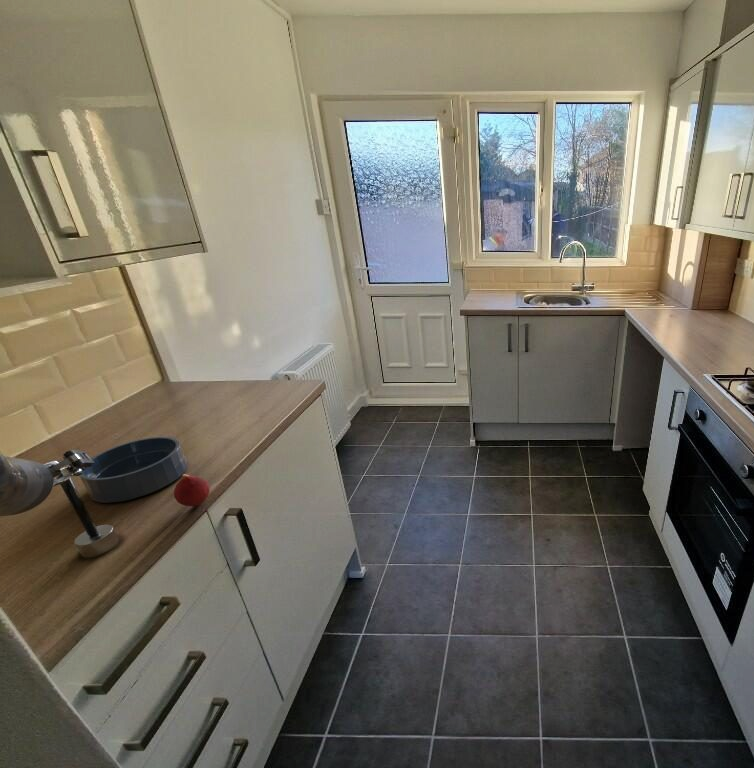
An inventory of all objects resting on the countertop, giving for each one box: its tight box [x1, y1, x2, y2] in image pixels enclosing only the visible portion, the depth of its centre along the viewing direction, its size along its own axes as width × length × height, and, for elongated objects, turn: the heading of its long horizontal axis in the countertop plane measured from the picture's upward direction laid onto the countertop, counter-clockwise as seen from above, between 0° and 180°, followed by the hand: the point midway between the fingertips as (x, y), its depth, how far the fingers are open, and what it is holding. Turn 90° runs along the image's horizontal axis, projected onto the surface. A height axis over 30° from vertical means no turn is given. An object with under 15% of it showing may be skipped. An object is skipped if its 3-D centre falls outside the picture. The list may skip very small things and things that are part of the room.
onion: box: [173, 473, 211, 508], centre depth 86 cm, size 6×6×8 cm
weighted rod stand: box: [59, 468, 120, 559], centre depth 74 cm, size 5×5×17 cm
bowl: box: [79, 436, 188, 504], centre depth 95 cm, size 17×17×6 cm
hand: (43, 487), depth 66 cm, fingers open, 8 cm apart
